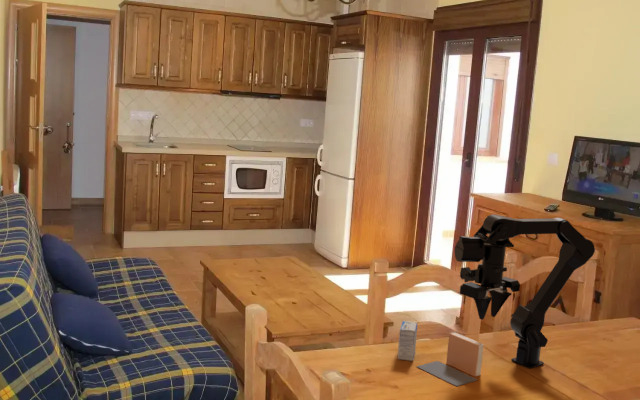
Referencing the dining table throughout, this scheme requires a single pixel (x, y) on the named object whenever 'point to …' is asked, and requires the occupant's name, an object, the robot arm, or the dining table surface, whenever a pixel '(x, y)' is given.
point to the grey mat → (447, 373)
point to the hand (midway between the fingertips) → (487, 317)
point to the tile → (465, 354)
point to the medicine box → (407, 340)
